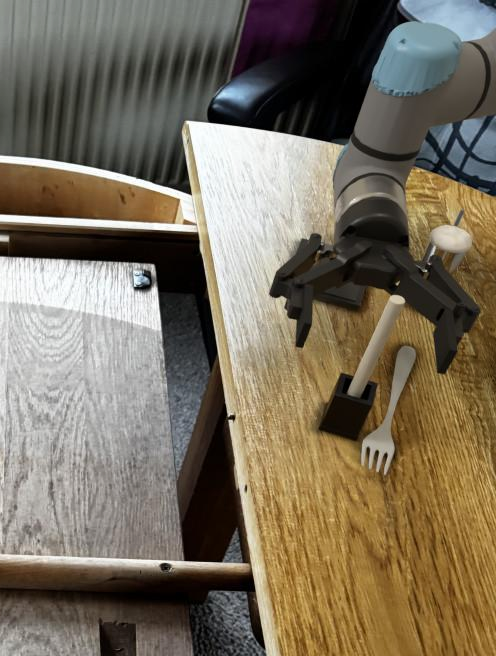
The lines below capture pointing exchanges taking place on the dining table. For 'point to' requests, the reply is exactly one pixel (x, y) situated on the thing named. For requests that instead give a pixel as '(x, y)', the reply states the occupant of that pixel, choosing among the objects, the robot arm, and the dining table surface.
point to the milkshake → (448, 244)
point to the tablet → (338, 289)
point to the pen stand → (347, 409)
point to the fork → (389, 412)
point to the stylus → (376, 345)
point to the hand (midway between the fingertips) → (375, 349)
